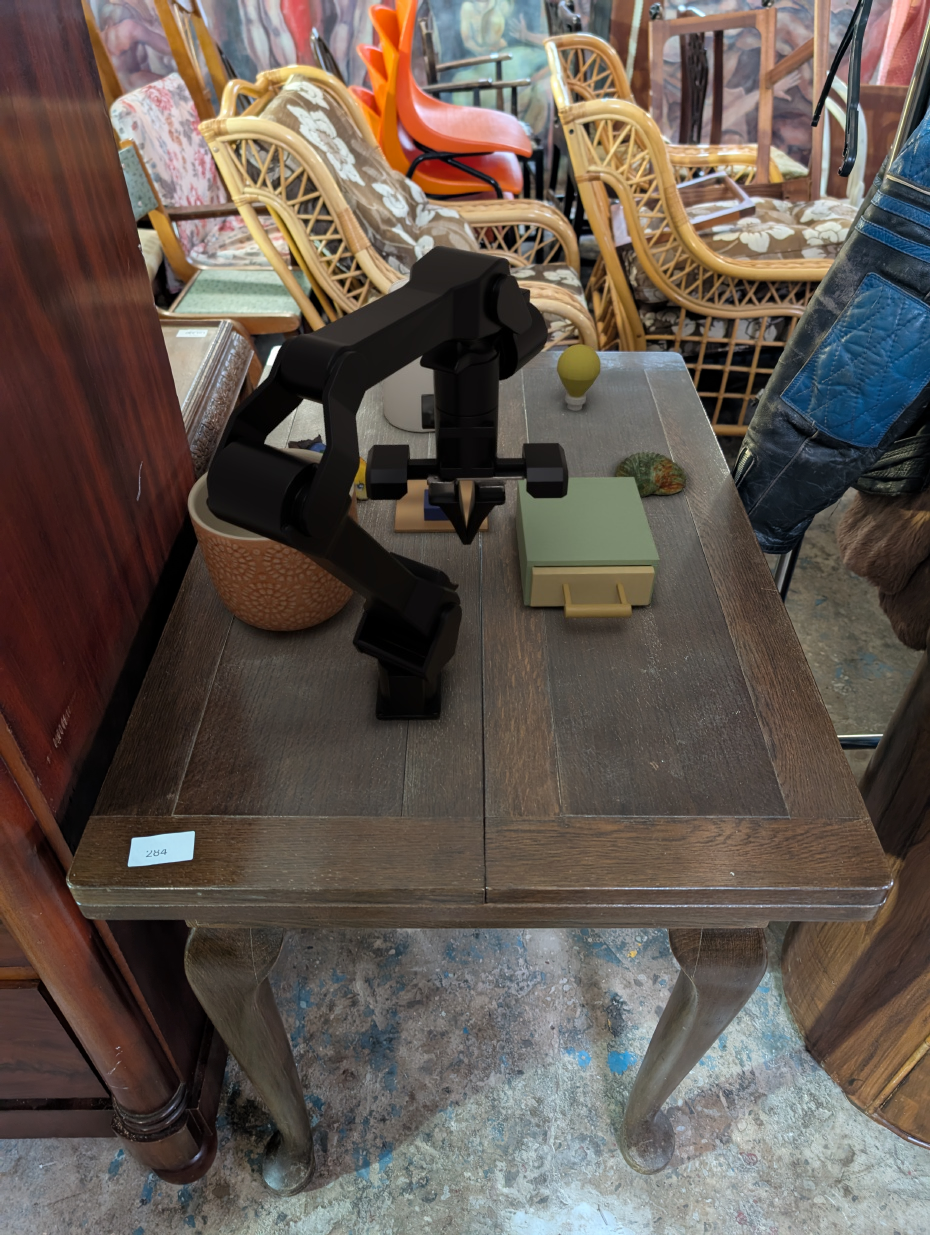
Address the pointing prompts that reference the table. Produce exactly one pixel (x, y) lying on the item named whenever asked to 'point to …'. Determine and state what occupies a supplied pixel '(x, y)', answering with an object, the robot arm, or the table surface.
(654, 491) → the seashell
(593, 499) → the cabinet
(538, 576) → the drawer
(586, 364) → the light bulb
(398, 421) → the can
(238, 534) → the planter
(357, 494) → the figurine
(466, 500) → the mat
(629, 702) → the table surface
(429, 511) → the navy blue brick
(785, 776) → the table surface
